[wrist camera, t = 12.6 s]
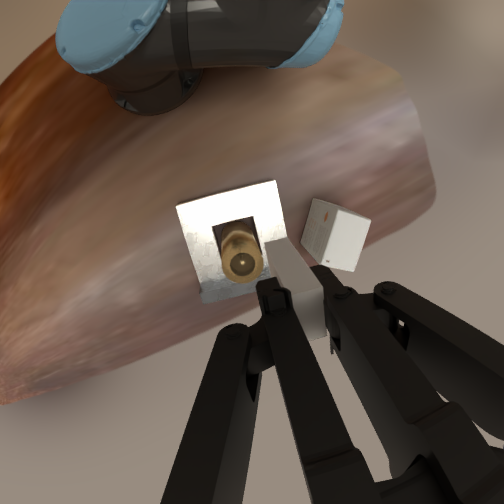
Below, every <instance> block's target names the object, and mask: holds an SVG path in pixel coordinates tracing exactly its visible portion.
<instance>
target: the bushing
mask: <svg viewBox="0 0 504 504" xmlns="http://www.w3.org/2000/svg"><path fill="white" fill-rule="evenodd" d="M221 260H222V270H223V273H224V274H225V276H226V277H227V278H228V279H229V280H231V281H233V282H235V283H240V284H244V283H249V282H251V281H253V280H255V279H256V278H257V277H258V276H259V275H260V274H261V272H262V270H263V266H264V261H263V257H262V255H261V252H260V250H259V247H258V245H257V242H256V240H255V238H254V235H253V233H252V230H251V228H250V227H249V226H248V225H247V224H246V223H244V222H241V221H233V222H230V223H229V224H227V225H226V226H225V227H224V229H223V230H222V234H221Z"/></svg>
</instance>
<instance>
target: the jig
mask: <svg viewBox="0 0 504 504" xmlns="http://www.w3.org/2000/svg"><path fill="white" fill-rule="evenodd" d="M176 209H177V213H178V216H179V219H180V223H181V226H182V229H183V232H184V236H185V239H186V242H187V245H188V248H189V251H190V255H191V258H192V261H193V264H194V267H195V270H196V273H197V276H198V279H199V282H200V284H201V285H200V292H199V294H200V297H201V299H202V302H203V304H207V303H211V302H215V301H220V300H224V299H228V298H232V297H236V296H240V295H244V294H248V293H252V292H256V287H255V286H256V284H257V282H258V281H260V280H264V279H268V278H271V274H270V269H269V265H268V260H267V255H266V250H265V245H264V242H269V241H273V240H277V239H281V238H285V237H287V234H286V229H285V224H284V219H283V214H282V209H281V204H280V199H279V195H278V190H277V185H276V181H275V180H273V179H271V180H267V181H262V182H258V183H254V184H250V185H246V186H241V187H237V188H233V189H230V190H226V191H222V192H218V193H214V194H210V195H207V196H203V197H199V198H196V199H192V200H189V201H185V202H182V203H178V204H177V205H176ZM249 216H253V220H254V224H255V229H256V233H257V237H258V241H259V245H260V252H261V255H262V257H263V261H264V266H263V270H262V272H261V274H260V275H259V276H258V277H257V278H256V279H255V280H253V281H251V282H249V283H244V284H240V283H235V282H233V281H231V280H229V279H228V278H227V277H226V276H225V274H224V273H223V270H222V260H221V253H220V249H219V246H218V242H217V239H216V235H215V232H214V228H213V226H214V225H218V224H221V223H225V222H229V221H233V220H237V219H241V218H245V217H249Z"/></svg>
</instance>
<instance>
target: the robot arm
mask: <svg viewBox="0 0 504 504" xmlns="http://www.w3.org/2000/svg"><path fill="white" fill-rule="evenodd" d="M343 6H344V0H71V1H70V2H69V4H68V5H67V6H66V8H65V10H64V11H63V14H62V15H61V17H60V20H59V23H58V26H57V30H56V47H57V50H58V52H59V54H60V56H61V57H62V58H63V59H64V60H65V61H66V62H68V63H69V64H71V66H72V67H73V68H74V69H75V70H76V71H78V72H80V73H84V74H86V75H88V76H90V77H92V78H94V79H96V80H98V81H100V82H102V83H104V84H106V85H107V87H108V90H109V93H110V95H111V97H112V98H113V100H114V101H115V102H116V103H117V104H118V105H119V106H121V107H122V108H124V109H125V110H128V111H130V112H132V113H135V114H139V115H158V114H162V113H165V112H168V111H170V110H172V109H174V108H176V107H178V106H179V105H181V104H182V103H184V102H185V101H186V100H187V99H188V98H189V97H190V96H191V95H192V94H193V92H194V91H195V90H196V88H197V87H198V85H199V83H200V80H201V78H202V74H203V68H211V67H237V66H256V67H266V68H268V69H277V68H282V67H287V68H305V67H307V66H311V65H313V64H316V63H317V62H318V61H320V60H321V59H322V58H323V57H324V56H325V55H326V54H327V53H328V51H329V50H330V48H331V47H332V45H333V43H334V41H335V39H336V38H337V35H338V33H339V30H340V27H341V24H342V19H343V13H342V12H341V9H342V7H343ZM264 245H265V250H266V255H267V260H268V265H269V269H270V274H271V278H268V279H264V280H260V281H258V282H257V284H256V286H255V287H256V292H257V296H258V300H259V304H260V308H261V312H262V316H261V318H260V320H259V321H258V322H257V323H255V324H254V325H252V326H250V327H247V325H244V324H240V323H235V324H231V325H228V326H226V327H224V328H223V329H221V330H220V332H219V333H218V335H217V338H216V341H215V344H214V347H213V349H212V352H211V355H210V358H209V361H208V364H207V367H206V370H205V373H204V376H203V379H202V381H201V385H200V387H199V390H198V393H197V396H196V399H195V402H194V405H193V408H192V411H191V414H190V417H189V420H188V423H187V425H186V428H185V432H184V434H183V437H182V440H181V444H180V446H179V449H178V452H177V455H176V458H175V461H174V464H173V467H172V470H171V473H170V476H169V479H168V482H167V485H166V488H165V491H164V494H163V497H162V500H161V503H160V504H242V501H243V495H244V490H245V484H246V477H247V472H248V466H249V460H250V454H251V447H252V441H253V434H254V428H255V421H256V414H257V407H258V400H259V393H260V386H261V379H262V371H264V370H266V369H268V368H270V367H272V366H274V365H275V367H276V372H277V375H278V379H279V383H280V387H281V391H282V394H283V398H284V402H285V406H286V410H287V413H288V417H289V421H290V425H291V429H292V432H293V436H294V440H295V443H296V447H297V451H298V455H299V459H300V462H301V466H302V469H303V474H304V477H305V481H306V485H307V488H308V492H309V496H310V500H311V504H504V447H503V449H501V448H497V447H493V446H489V445H488V444H487V442H486V440H485V439H484V437H483V436H482V435H481V433H480V432H479V430H478V429H477V427H476V426H475V424H474V423H476V424H477V425H478V426H479V427H481V428H482V429H483V430H485V431H486V432H488V433H489V434H491V435H492V436H494V437H496V438H498V439H501V440H503V441H504V345H502V344H500V343H499V342H497V341H496V340H494V339H492V338H491V337H490V336H488V335H486V334H484V333H483V332H481V331H480V330H478V329H476V328H475V327H473V326H472V325H470V324H468V323H466V322H465V321H463V320H461V319H460V318H458V317H456V316H455V315H453V314H451V313H449V312H448V311H446V310H444V309H443V308H441V307H439V306H437V305H436V304H434V303H432V302H430V301H429V300H427V299H425V298H423V297H421V296H419V295H418V294H416V293H414V292H412V291H411V290H409V289H407V288H405V287H403V286H401V285H400V284H398V283H395V282H390V281H386V282H381V283H378V284H377V285H376V286H375V287H374V293H368V294H358V293H357V292H356V290H354V289H353V288H351V287H348V286H343V284H342V283H341V282H340V281H339V280H338V278H337V277H336V276H335V275H334V274H333V273H332V271H331V270H330V269H329V268H328V267H326V266H324V265H322V264H320V265H316V266H313V267H309V266H308V265H307V264H306V262H305V261H304V259H303V258H302V257H301V255H300V254H299V253H298V251H297V250H296V248H295V247H294V246H293V244H292V243H291V241H290V240H289V239H288V237H285V238H281V239H277V240H273V241H269V242H264ZM399 320H401V321H402V322H404V326H401V325H400V324H399ZM326 328H327V329H328V331H329V333H330V349H331V354H333V349H334V350H335V352H336V354H337V356H338V358H339V360H340V362H341V363H342V365H343V367H344V369H345V371H346V373H347V375H348V377H349V379H350V381H351V383H352V385H353V387H354V389H355V391H356V393H357V395H358V397H359V399H360V400H361V403H362V405H363V406H364V409H365V411H366V413H367V415H368V417H369V419H370V421H371V423H372V425H373V427H374V429H375V431H376V433H377V435H378V437H379V439H380V441H381V443H382V445H383V447H384V449H385V452H386V454H387V456H388V459H389V466H390V473H391V476H392V478H393V479H390V480H385V481H381V482H374V480H373V478H372V475H371V473H370V470H369V468H368V466H367V464H366V461H365V459H364V457H363V455H362V453H361V451H360V450H359V449H357V448H355V447H354V445H353V443H352V441H351V439H350V436H349V434H348V432H347V429H346V427H345V425H344V422H343V420H342V418H341V415H340V413H339V411H338V408H337V406H336V404H335V402H334V399H333V397H332V394H331V392H330V390H329V387H328V385H327V383H326V380H325V378H324V376H323V374H322V371H321V369H320V367H319V365H318V362H317V360H316V357H315V355H314V353H313V351H312V348H311V346H310V344H309V342H308V341H312V340H315V339H319V338H322V337H325V336H327V330H326ZM436 391H437V392H438V393H439V394H441V395H442V396H443V397H444V398H446V399H447V400H448V401H449V402H444V401H443V400H442V399H441V397H440V396H439V394H438V393H437V392H436ZM472 421H473V422H474V423H473V422H472Z"/></svg>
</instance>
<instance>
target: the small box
mask: <svg viewBox="0 0 504 504" xmlns="http://www.w3.org/2000/svg"><path fill="white" fill-rule="evenodd" d="M370 223H371V220H370V219H369V218H366V217H364V216H362V215H360V214H358V213H356V212H353V211H351V210H349V209H347V208H344V207H342V206H339V205H336V204H333V203H329V202H326V201H323V200H319V199H315V198H313V200H312V204H311V207H310V211H309V214H308V218H307V221H306V225H305V228H304V231H303V235H302V238H301V241H300V244H301V245H302V246H303V247H304V248H305V249H306V250H307V251H308V252H309V253H310V255H311V256H312V257H313V258H314V259H315V260H316V261H317V262H318V264H319V265H320V264H322V265H324V266H326V267H331V268H336V269H341V270H346V271H351V272H354V270H355V267H356V264H357V262H358V259H359V256H360V253H361V250H362V247H363V245H364V242H365V239H366V236H367V232H368V229H369V226H370Z"/></svg>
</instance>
